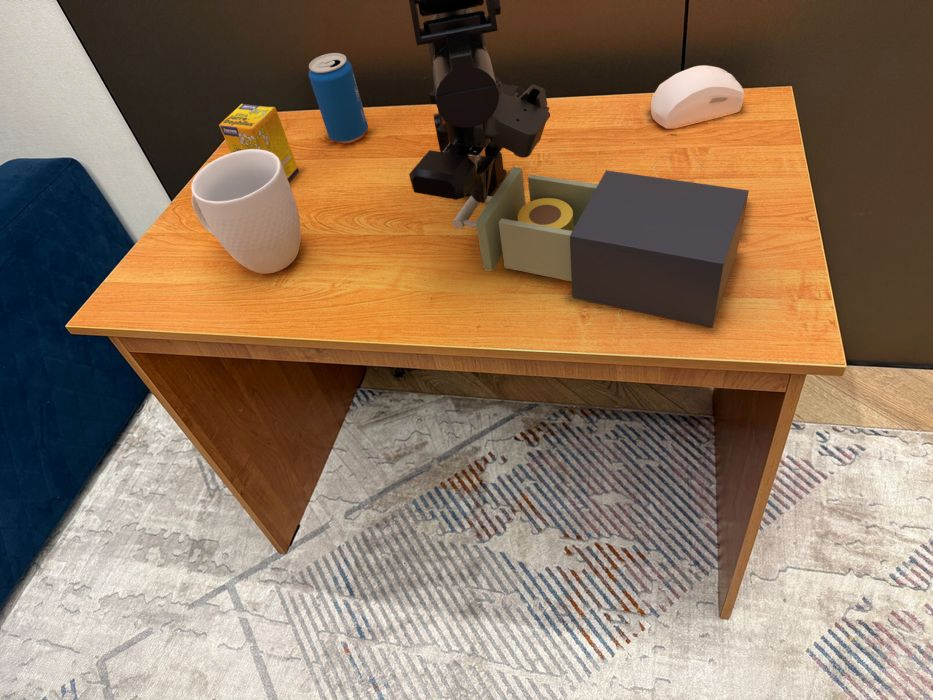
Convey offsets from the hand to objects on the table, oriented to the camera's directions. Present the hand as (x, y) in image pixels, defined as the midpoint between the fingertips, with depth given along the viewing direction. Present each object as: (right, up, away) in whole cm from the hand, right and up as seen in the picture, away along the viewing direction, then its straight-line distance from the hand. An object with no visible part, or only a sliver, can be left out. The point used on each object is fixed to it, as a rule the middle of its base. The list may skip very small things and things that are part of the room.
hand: (481, 200), depth 83 cm
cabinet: (+20, -9, -3) cm, 22 cm away
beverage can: (-20, +16, +28) cm, 38 cm away
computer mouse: (+31, +17, +18) cm, 40 cm away
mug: (-28, -5, +10) cm, 31 cm away
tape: (+8, -5, +1) cm, 9 cm away
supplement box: (-31, +8, +22) cm, 39 cm away
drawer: (+7, -5, +2) cm, 9 cm away
